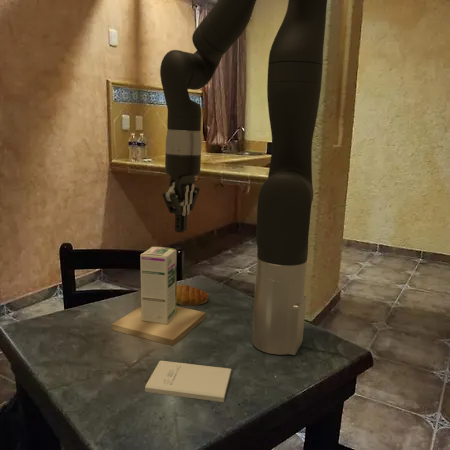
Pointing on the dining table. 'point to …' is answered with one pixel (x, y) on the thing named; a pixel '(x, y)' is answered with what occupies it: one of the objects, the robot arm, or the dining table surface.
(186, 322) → the board
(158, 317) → the syrup box
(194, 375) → the external hard drive
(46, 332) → the dining table surface
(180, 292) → the pastry
